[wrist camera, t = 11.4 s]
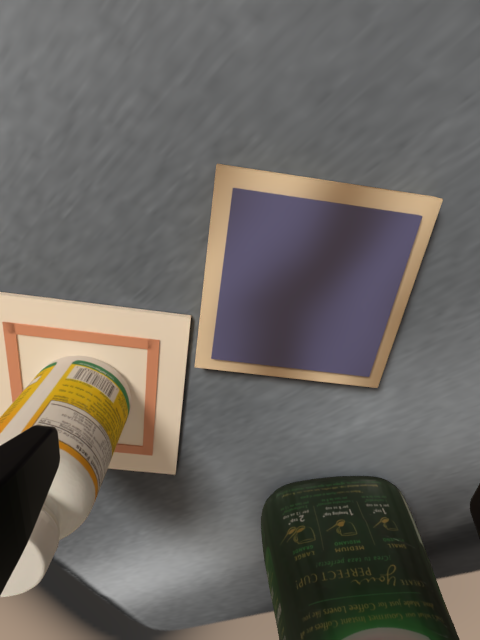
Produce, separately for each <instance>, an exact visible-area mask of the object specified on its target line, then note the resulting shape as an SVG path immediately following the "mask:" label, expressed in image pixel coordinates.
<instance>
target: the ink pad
mask: <svg viewBox="0 0 480 640" xmlns="http://www.w3.org/2000/svg"><path fill="white" fill-rule="evenodd" d="M442 201H443V199H441V198H437V197H433V196H427V195H420V194H413V193H407V192H400V191H394V190H387V189H381V188H374V187H367V186H361V185H354V184H348V183H341V182H335V181H328V180H321V179H315V178H308V177H302V176H295V175H288V174H282V173H275V172H269V171H262V170H256V169H249V168H242V167H236V166H229V165H223V164H217V165H216V174H215V183H214V192H213V202H212V211H211V220H210V229H209V239H208V248H207V257H206V266H205V275H204V285H203V294H202V303H201V312H200V322H199V331H198V340H197V349H196V359H195V367H196V368H205V369H214V370H223V371H232V372H241V373H249V374H258V375H267V376H276V377H285V378H294V379H302V380H311V381H320V382H329V383H338V384H347V385H355V386H364V387H373V388H378V385H379V382H380V380H381V377H382V374H383V371H384V368H385V365H386V362H387V359H388V357H389V354H390V351H391V348H392V345H393V342H394V339H395V336H396V333H397V331H398V328H399V325H400V322H401V319H402V316H403V313H404V310H405V308H406V305H407V302H408V299H409V296H410V293H411V290H412V287H413V285H414V282H415V279H416V276H417V273H418V270H419V267H420V264H421V262H422V259H423V256H424V253H425V250H426V247H427V244H428V241H429V238H430V236H431V233H432V230H433V227H434V224H435V221H436V218H437V215H438V213H439V210H440V207H441V204H442Z"/></svg>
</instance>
